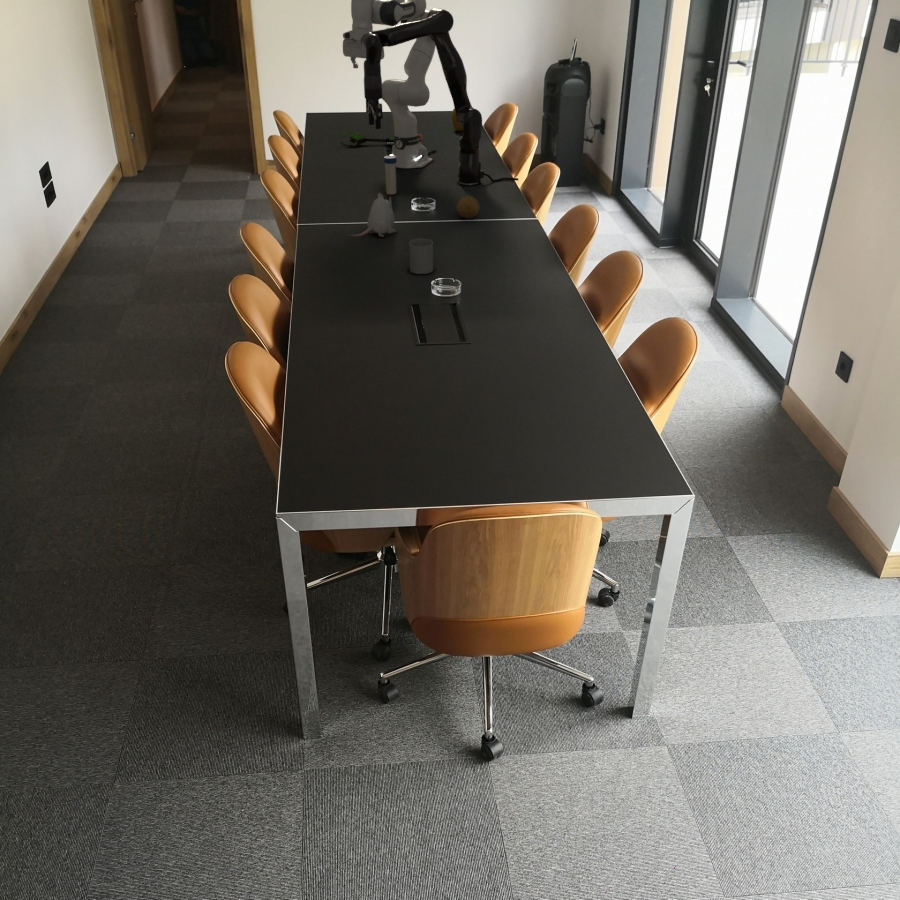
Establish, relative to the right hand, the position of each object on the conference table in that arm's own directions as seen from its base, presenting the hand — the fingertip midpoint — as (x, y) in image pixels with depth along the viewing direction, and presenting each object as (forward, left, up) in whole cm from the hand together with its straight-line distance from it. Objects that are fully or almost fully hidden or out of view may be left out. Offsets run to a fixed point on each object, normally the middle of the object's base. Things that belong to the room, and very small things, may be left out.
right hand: (374, 126), depth 370 cm
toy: (+21, +53, -29) cm, 64 cm away
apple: (-86, -98, -29) cm, 134 cm away
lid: (-6, 0, -14) cm, 15 cm away
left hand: (-5, -25, +19) cm, 31 cm away
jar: (-6, 0, -29) cm, 30 cm away
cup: (+17, +93, -29) cm, 99 cm away
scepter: (-27, -88, -29) cm, 96 cm away
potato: (-23, +45, -29) cm, 59 cm away
